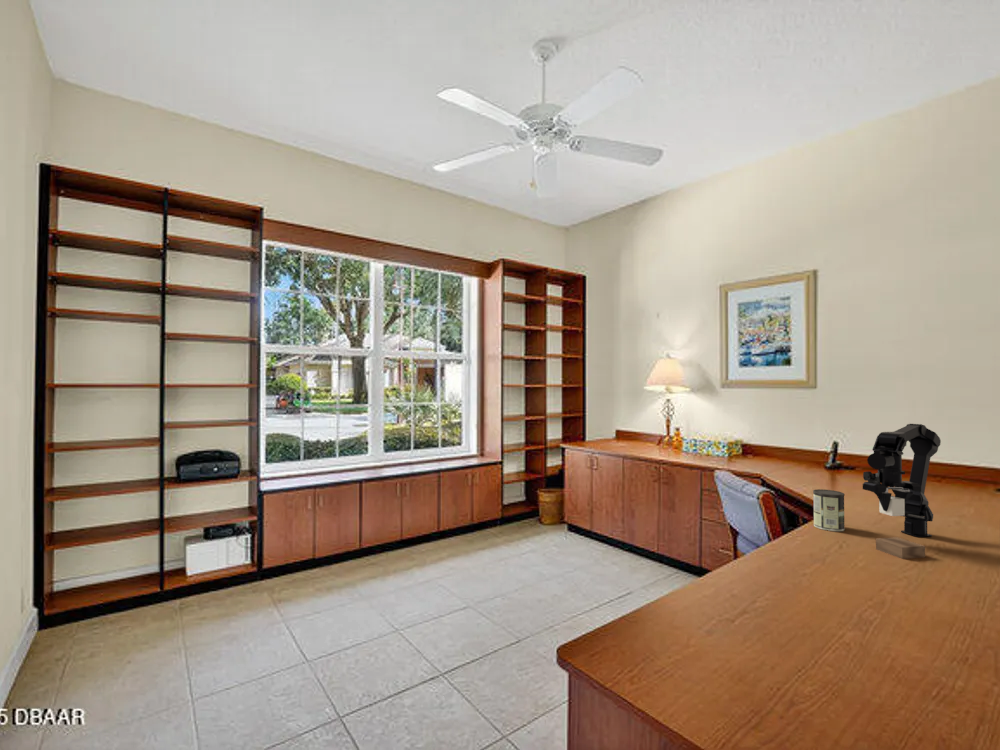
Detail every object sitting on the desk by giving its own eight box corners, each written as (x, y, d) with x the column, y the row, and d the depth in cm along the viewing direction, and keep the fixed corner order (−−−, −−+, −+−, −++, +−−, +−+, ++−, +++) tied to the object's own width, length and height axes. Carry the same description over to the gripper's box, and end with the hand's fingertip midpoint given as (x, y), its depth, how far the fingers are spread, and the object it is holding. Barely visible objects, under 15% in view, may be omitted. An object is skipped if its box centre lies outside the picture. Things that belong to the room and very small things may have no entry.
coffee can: (833, 523, 192) (832, 489, 193) (851, 531, 182) (851, 495, 182) (807, 523, 193) (807, 488, 193) (824, 531, 182) (824, 494, 183)
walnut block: (897, 548, 165) (897, 537, 165) (925, 558, 156) (925, 546, 156) (875, 550, 163) (875, 538, 163) (902, 559, 154) (902, 547, 154)
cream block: (891, 511, 174) (891, 495, 174) (904, 515, 169) (904, 498, 169) (879, 512, 174) (879, 495, 174) (892, 516, 169) (892, 499, 169)
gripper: (892, 463, 181) (893, 504, 181) (849, 464, 179) (849, 505, 178) (922, 468, 170) (922, 512, 170) (876, 469, 167) (876, 513, 167)
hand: (891, 510), depth 171 cm, fingers closed on cream block, 5 cm apart
